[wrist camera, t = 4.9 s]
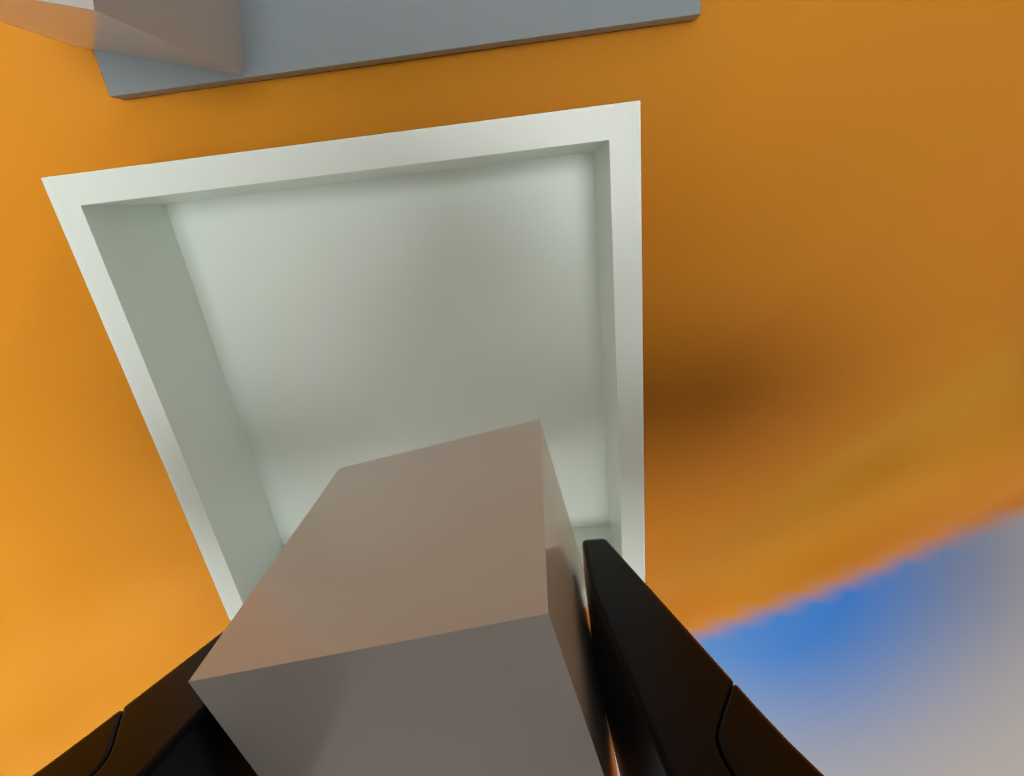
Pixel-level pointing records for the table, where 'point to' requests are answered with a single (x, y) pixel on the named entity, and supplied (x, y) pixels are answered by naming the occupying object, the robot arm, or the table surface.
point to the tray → (376, 314)
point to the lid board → (383, 36)
